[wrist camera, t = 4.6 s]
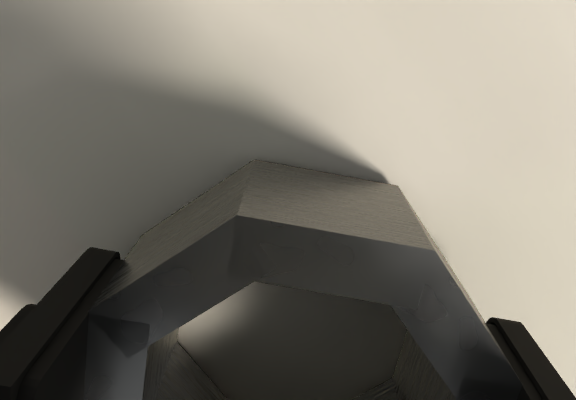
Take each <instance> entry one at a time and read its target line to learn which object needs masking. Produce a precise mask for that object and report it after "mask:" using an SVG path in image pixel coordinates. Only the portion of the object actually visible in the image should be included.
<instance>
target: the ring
mask: <svg viewBox="0 0 576 400" xmlns="http://www.w3.org/2000/svg"><path fill="white" fill-rule="evenodd" d="M254 281H256V282H261V283H267V284H273V285H279V286H284V287H290V288H296V289H302V290H307V291H313V292H319V293H325V294H330V295H336V296H342V297H348V298H353V299H359V300H365V301H371V302H376V303H382V304H388V305H390V306H391V307H392V309H393V310H394V311H395V313H396V314H397V316H398V317H399V318H400V320H401V321H402V323H403V324H404V325H405V327H406V328H407V332H406V336H405V339H404V342H403V345H402V349H401V352H400V355H399V358H398V362H397V365H396V368H395V371H394V375H393V378H392V379H390V380H388V381H386V382H384V383H382V384H380V385H378V386H376V387H374V388H373V389H371V390H369V391H367V392H365V393H363V394H361V395H359V396H357V397H355V398H354V399H352V400H517V397H518V395H519V392H520V390H521V388H522V386H523V385H522V383H521V381H520V380H519V378H518V376H517V375H516V373H515V371H514V370H513V368H512V366H511V365H510V363H509V361H508V360H507V358H506V356H505V355H504V353H503V351H502V350H501V348H500V346H499V345H498V343H497V342H496V340H495V338H494V337H493V335H492V333H491V332H490V330H489V328H488V327H487V325H486V323H485V321H484V320H483V318H482V317H481V315H480V313H479V312H478V310H477V308H476V307H475V305H474V303H473V302H472V300H471V298H470V297H469V295H468V293H467V292H466V290H465V289H464V287H463V286H462V284H461V283H460V281H459V279H458V278H457V276H456V275H455V273H454V272H453V270H452V269H451V267H450V266H449V264H448V262H447V261H446V259H445V258H444V256H443V255H442V253H441V252H440V250H439V249H438V247H437V246H436V244H435V242H434V241H433V239H432V238H431V236H430V235H429V233H428V232H427V230H426V229H425V227H424V225H423V224H422V222H421V221H420V219H419V218H418V216H417V215H416V213H415V212H414V210H413V209H412V207H411V205H410V204H409V202H408V201H407V199H406V198H405V196H404V195H403V193H402V192H401V190H400V188H399V187H398V186H396V185H391V184H385V183H380V182H374V181H369V180H363V179H358V178H352V177H347V176H342V175H336V174H331V173H325V172H320V171H314V170H309V169H303V168H298V167H293V166H287V165H282V164H276V163H271V162H265V161H260V160H253V161H252V162H250V163H249V164H247V165H246V166H244V167H243V168H241V169H240V170H238V171H237V172H235V173H234V174H232V175H231V176H229V177H228V178H226V179H225V180H223V181H222V182H220V183H219V184H217V185H216V186H214V187H213V188H211V189H210V190H209V191H207V192H206V193H204V194H203V195H201V196H200V197H198V198H197V199H195V200H194V201H192V202H191V203H189V204H188V205H186V206H185V207H183V208H182V209H180V210H179V211H177V212H176V213H174V214H173V215H171V216H170V217H168V218H167V219H165V220H164V221H162V222H161V223H159V224H158V225H156V226H155V227H153V228H152V229H151V230H149V231H148V232H146V233H145V234H143V235H142V236H141V237H140V239H139V240H138V242H137V243H136V244H135V246H134V247H133V249H132V250H131V251H130V253H129V254H128V255H127V257H126V258H125V260H124V262H123V264H122V265H121V266H120V268H119V269H118V271H117V272H116V273H115V275H114V276H113V277H112V279H111V280H110V282H109V283H108V284H107V286H106V287H105V289H104V290H103V291H102V293H101V294H100V296H99V297H98V298H97V300H96V301H95V302H94V304H93V305H92V307H91V308H90V309H89V311H88V312H89V319H88V336H87V353H86V370H85V387H84V400H228V399H227V398H226V397H225V396H224V395H223V393H222V392H221V391H220V390H219V389H218V388H217V387H216V385H215V384H214V383H213V382H212V381H211V380H210V379H209V378H208V376H207V375H206V374H205V373H204V372H203V371H202V370H201V369H200V367H199V366H198V365H197V364H196V363H195V362H194V361H193V359H192V358H191V357H190V356H189V355H188V354H187V353H186V352H185V350H184V349H183V348H182V347H181V346H180V345H179V344H178V343H177V337H178V329H179V327H180V326H182V325H184V324H185V323H187V322H189V321H190V320H192V319H194V318H195V317H197V316H198V315H200V314H202V313H203V312H205V311H207V310H208V309H210V308H212V307H213V306H215V305H216V304H218V303H220V302H221V301H223V300H225V299H226V298H228V297H230V296H231V295H233V294H234V293H236V292H238V291H239V290H241V289H243V288H244V287H246V286H248V285H249V284H251V283H252V282H254Z"/></svg>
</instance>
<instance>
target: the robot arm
mask: <svg viewBox="0 0 576 400" xmlns="http://www.w3.org/2000/svg"><path fill="white" fill-rule="evenodd" d="M123 262H124V260H120V254H119V252H115V251H109V250H103V249H98V248H92V247H90V248H89V249H87V250H86V252H85V253H84V254H83V255H82V256H81V257H80V258H79V259H78V260H77V261H76V262H75V264H74V265H73V266H72V267H71V268H70V269H69V270H68V271H67V272H66V273H65V275H64V276H63V277H62V278H61V279H60V280H59V281H58V282H57V283H56V284H55V285H54V287H53V288H52V289H51V290H50V291H49V292H48V293H47V294H46V295H45V296H44V298H43V299H42V300H41V301H40V302H39V303H38V304H37V305H35V304H29V305H26V306H25V307H23V308H22V309H21V310H20V311H19V312H18V313H17V314H16V315H15V316H14V317H13V318H12V319H11V320H10V322H9V323H8V324H7V325H6V326H5V327H4V328H3V329H2V330H1V331H0V400H84V387H85V370H86V353H87V336H88V319H89V312H88V311H89V309H90V308H91V307H92V305H93V304H94V302H95V301H96V300H97V298H98V297H99V296H100V294H101V293H102V291H103V290H104V289H105V287H106V286H107V284H108V283H109V282H110V280H111V279H112V277H113V276H114V275H115V273H116V272H117V271H118V269H119V268H120V266H121V265H122V264H123ZM486 325H487V327H488V328H489V330H490V332H491V333H492V335H493V337H494V338H495V340H496V342H497V343H498V345H499V346H500V348H501V350H502V351H503V353H504V355H505V356H506V358H507V360H508V361H509V363H510V365H511V366H512V368H513V370H514V371H515V373H516V375H517V376H518V378H519V380H520V381H521V383H522V385H523V386H522V388H521V390H520V392H519V395H518V397H517V400H576V398H575V396H574V395H573V393H572V392H571V391H570V389H569V388H568V386H567V385H566V384H565V382H564V381H563V380H562V378H561V377H560V375H559V374H558V373H557V371H556V370H555V368H554V367H553V366H552V364H551V363H550V361H549V360H548V359H547V357H546V356H545V355H544V353H543V352H542V350H541V349H540V348H539V346H538V345H537V343H536V342H535V341H534V339H533V338H532V336H531V335H530V334H529V332H528V331H527V330H526V328H525V327H524V325H523V324H522V323H521V322H516V321H511V320H505V319H499V318H493V317H492V318H490V319H489V320H488V321H487V322H486Z"/></svg>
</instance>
